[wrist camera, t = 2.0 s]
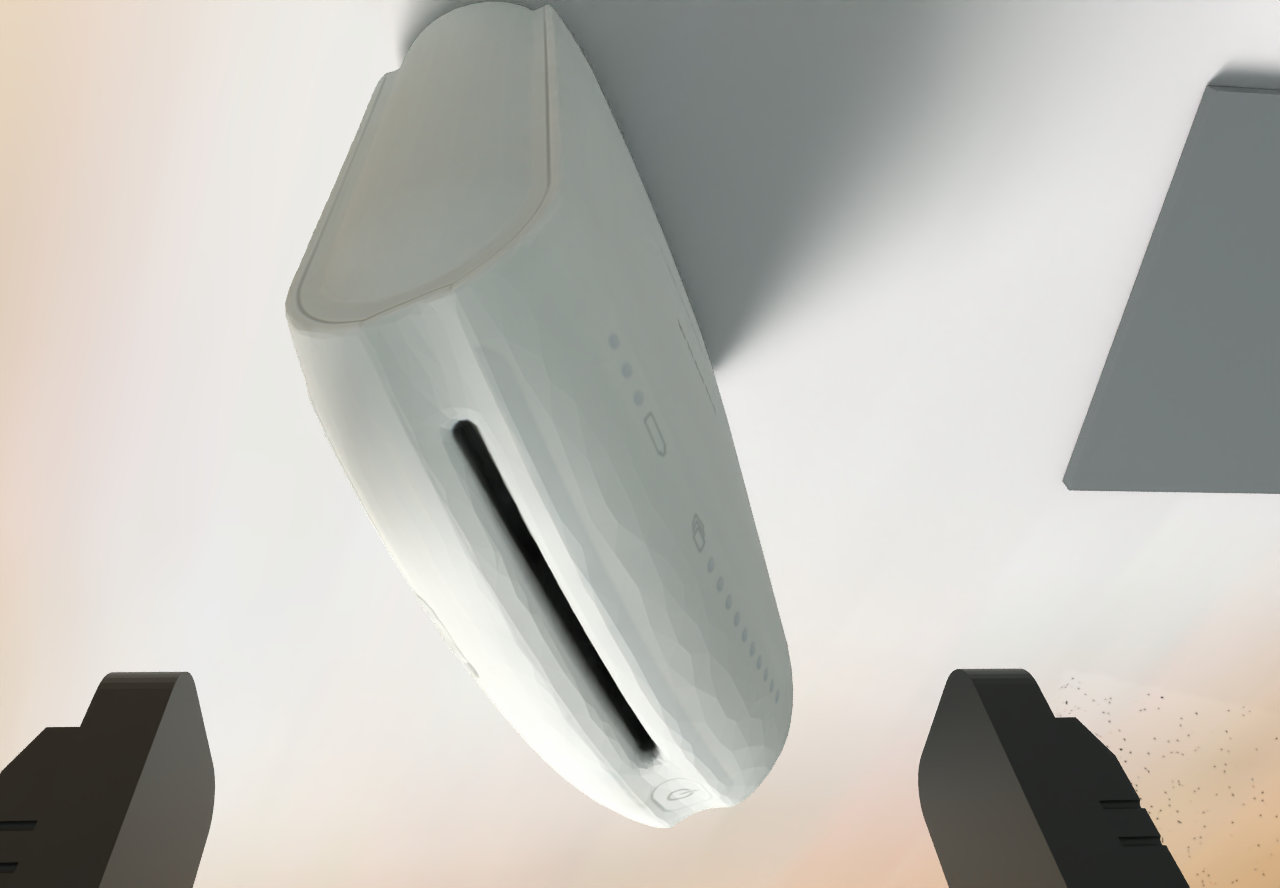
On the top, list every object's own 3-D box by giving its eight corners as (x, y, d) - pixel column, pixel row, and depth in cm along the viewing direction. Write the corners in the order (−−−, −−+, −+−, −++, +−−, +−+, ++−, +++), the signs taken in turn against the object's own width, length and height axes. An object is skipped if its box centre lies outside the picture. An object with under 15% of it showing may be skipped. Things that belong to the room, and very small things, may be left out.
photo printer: (734, 395, 25) (866, 853, 15) (567, 456, 26) (583, 936, 15) (561, -42, 19) (581, 206, 9) (353, 48, 20) (154, 377, 10)
